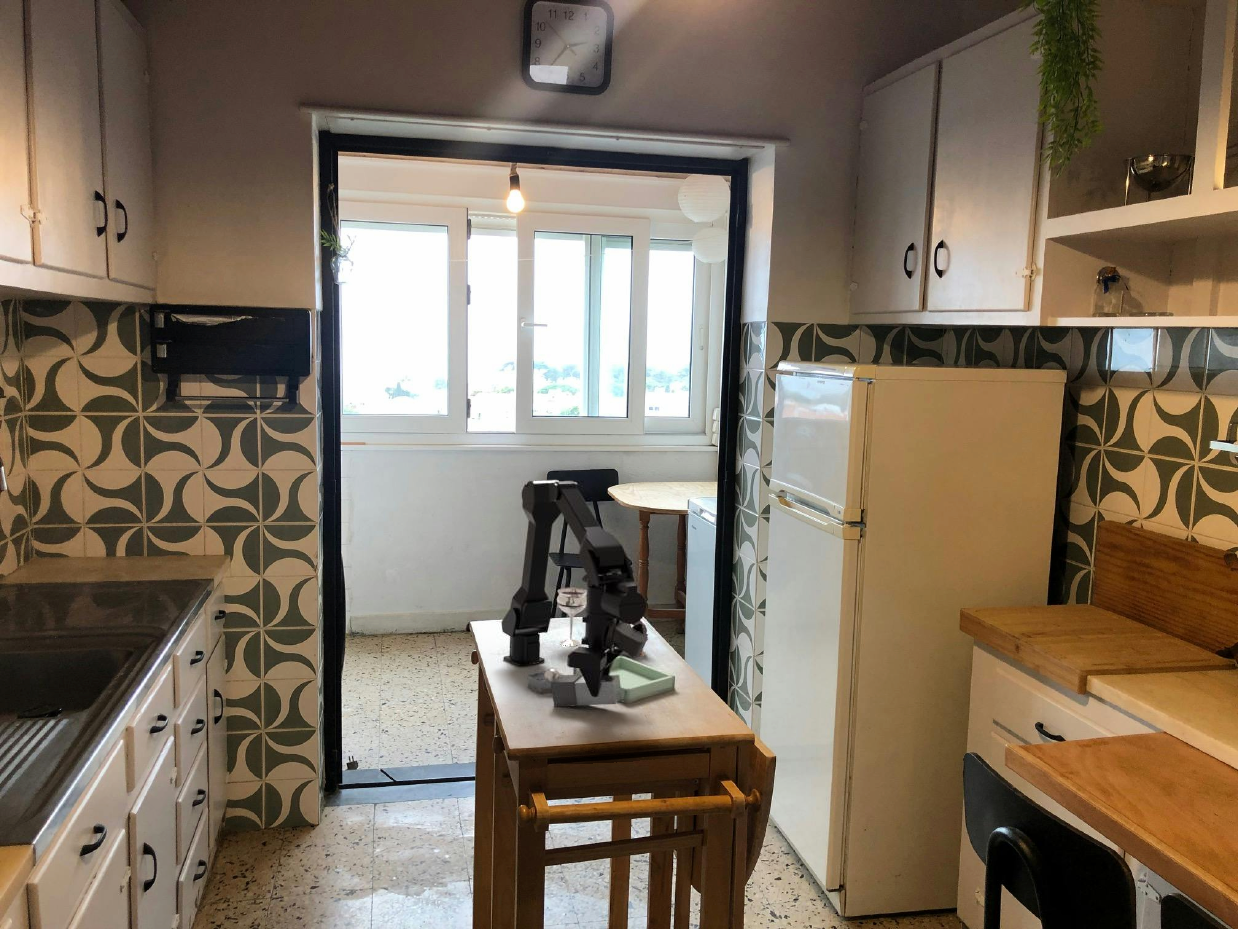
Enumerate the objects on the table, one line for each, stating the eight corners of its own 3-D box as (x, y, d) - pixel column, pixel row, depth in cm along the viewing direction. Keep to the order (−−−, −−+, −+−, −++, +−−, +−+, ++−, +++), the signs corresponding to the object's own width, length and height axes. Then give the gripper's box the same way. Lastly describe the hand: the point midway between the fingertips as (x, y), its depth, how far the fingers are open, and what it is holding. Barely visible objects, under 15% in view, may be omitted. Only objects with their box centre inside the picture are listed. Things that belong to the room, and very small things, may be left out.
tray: (572, 679, 191) (573, 667, 191) (620, 667, 200) (621, 655, 199) (626, 703, 179) (626, 689, 179) (674, 689, 188) (675, 676, 188)
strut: (554, 706, 176) (550, 682, 176) (562, 698, 180) (559, 675, 180) (614, 704, 172) (611, 680, 172) (622, 696, 177) (619, 673, 176)
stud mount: (527, 687, 186) (528, 667, 185) (551, 681, 190) (552, 661, 189) (543, 695, 182) (544, 674, 181) (568, 688, 186) (568, 668, 185)
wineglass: (589, 646, 213) (591, 594, 211) (559, 648, 211) (561, 595, 209) (581, 638, 219) (583, 587, 218) (552, 639, 217) (554, 588, 216)
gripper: (628, 628, 163) (624, 716, 164) (657, 603, 180) (654, 683, 182) (567, 621, 166) (564, 707, 168) (602, 596, 184) (599, 675, 185)
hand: (598, 692), depth 176 cm, fingers closed on strut, 4 cm apart
